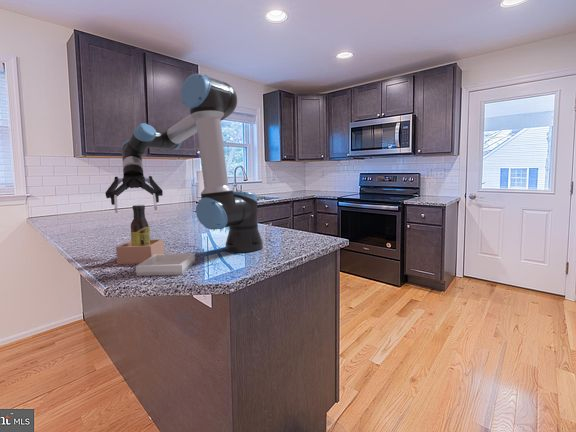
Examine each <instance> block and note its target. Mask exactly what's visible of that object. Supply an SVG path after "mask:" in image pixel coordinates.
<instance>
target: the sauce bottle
mask: <svg viewBox="0 0 576 432" xmlns="http://www.w3.org/2000/svg"><path fill="white" fill-rule="evenodd" d="M145 207H146V206H145V204H140V205H139V204H136V205H135V204H134V205H132V211H133V217H132V218H133V219H132V221H131V223H130V239H131V240H130V241H131V243H132V246H150V240H151V232H150V225H149V223H148V220H147V218H146V214H145V213H146V211H145V210H146V208H145Z"/></svg>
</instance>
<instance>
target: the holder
mask: <svg viewBox="0 0 576 432" xmlns="http://www.w3.org/2000/svg"><path fill="white" fill-rule="evenodd" d="M115 249H116V251H115V252H116V260H117V264H118V265H129V264H130V265H131V264H133V265H136V264H140V263H142V262H143V261H145V260H147V259H148V258H150V257H151V256H153V255H160V254H165V250H166V249H165V239H162V238H160V239H159V238H157V239H154V238H153V239H150V246H132V243H131V240H129V241H126V242H125V243H122V244H120V245H118V246H115Z"/></svg>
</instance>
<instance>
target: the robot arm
mask: <svg viewBox="0 0 576 432" xmlns="http://www.w3.org/2000/svg"><path fill="white" fill-rule="evenodd" d="M180 98H181V101H182V103H183V104H184V107H186V108H187V109H189V113H190V114H188V115H187V116H186V117H183V119H181V120H179V121H178V122H177V123H175V124H174V125H172V126H170V127H169V128H167V129H166V130H164V131H162V130H161V131H160V130H156V129H155V127H153V126H152V125H150V124H148V123H145V122H142V123H140V124H138V125H137V127H136V128H135V129H134V131H133V133H132V135H131V136H130V139H127V140H125V141H124V142H123V143H122V145H121V156H122V158H121V159H122V172H123V175H122V176H123V177H122V178H121V177H120V178H119V177H118V176H114V179H113V181H112V182H111V184H110V185H109V187H108V188H107V190H106V191H105V198H106V199H110V203H111V206H114V212H115V214H116V213H118V212H119V211H118V209H119V207H118V197H119V195H121V194H122V193H123V192H124V191H126V190H128V189H139V188H141V189H142V190H145V191H146V192H147V193H149V194H150V195H151V196H152V199H153V208H154V211H157V210H158V207H157V203H159V202H160V199H159V197H161V196H163V189H162V188H161V187H160V186H159V185H158V184H157V183H156V181H155V180H154V179H153V176H151V175H149V176H148V177H145V176H144V168H143V167H144V166H143V156H144V154H145V153H146V151H147V150H148V149H162V150H163V149H164V150H178V149H180V147H181V145H182V142H184V141H185V140H187V139H189V138H190V137H192V136H194V135H196V134H197V141H198V148H199V155H200V156H199V157H200V163H201V172H202V180H203V190H202V191H201V193H200V199H199V201H198V202H197V203H196V204H197V205H196V206H195V214H196V217H197V220H198V221H199V223H200V224H201V225H202V226H203V227H205V229H208V230H211V231H213V230H214V231H215V230H222V229H224V228H229V229H228V233H227V237H226V242H225V250H226V251H227V252H231V253H250V252H257V251H259V250H261V249H264V243H263V239H262V237H261V234H260V230H259V221H258V219H259V218H258V216H259V215H258V203H259V202H258V198H257V194H256V193H254V192H249V191H234V189H232V188H231V187H230V186H229V180H228V173H227V164H226V154H225V149H224V148H225V146H224V140H223V139H224V138H223V132H222V131H223V130H222V124H221V123H222V121H223V120H225V119H227V118H229V116H231V115H232V114H233V113H234V112H235V110H236V108H237V105H238V97H237V92H236V91H235V89H234V88H233V87H232V86H231V85H230V84H229V83H227V82H224V81H221V80H218V79H216V78H212V77H210V76H208V75H206V74H201V73H192V74H190V75H188V77H186V78H185V79H184V83H182V86H181V88H180ZM146 182H147V183H146ZM120 184H121V185H120ZM119 185H120V186H119Z"/></svg>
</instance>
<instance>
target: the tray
mask: <svg viewBox="0 0 576 432" xmlns="http://www.w3.org/2000/svg"><path fill="white" fill-rule="evenodd" d="M195 255H196V253H168V254H160V255H153V256H151V257H150V258H148V259H147V260H145V261H143V262H142V263H138V264H137V265H135V271H136V272H135V273H136V276H137V277H141V276H147V277H148V276H178V275H179V276H181V275H184V274H185V273H186V272H187V271H188V270H189V269H190V268H191V267H192V266H193V265H194V264H195V263H196V256H195Z"/></svg>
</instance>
